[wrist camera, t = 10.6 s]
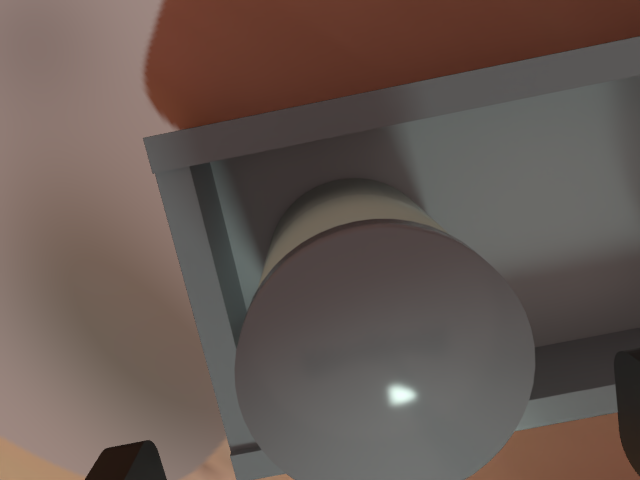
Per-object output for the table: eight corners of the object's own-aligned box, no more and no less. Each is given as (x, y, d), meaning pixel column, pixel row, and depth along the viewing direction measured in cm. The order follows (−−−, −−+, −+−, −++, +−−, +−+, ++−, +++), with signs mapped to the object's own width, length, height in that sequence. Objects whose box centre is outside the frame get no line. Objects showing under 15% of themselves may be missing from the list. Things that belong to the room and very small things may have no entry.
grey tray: (757, 318, 21) (860, 367, 17) (250, 414, 21) (237, 482, 17) (757, 13, 18) (880, -14, 14) (177, 131, 19) (143, 137, 15)
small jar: (426, 159, 18) (519, 201, 10) (451, 325, 20) (548, 475, 12) (247, 194, 18) (201, 263, 10) (285, 357, 20) (270, 526, 12)
